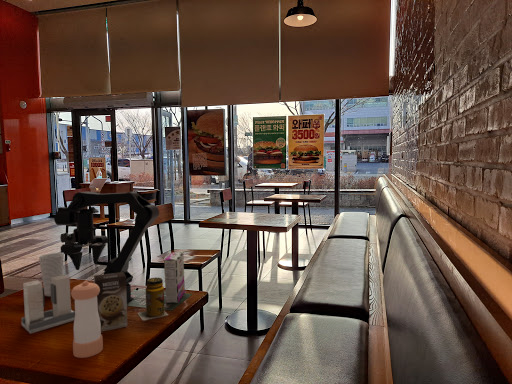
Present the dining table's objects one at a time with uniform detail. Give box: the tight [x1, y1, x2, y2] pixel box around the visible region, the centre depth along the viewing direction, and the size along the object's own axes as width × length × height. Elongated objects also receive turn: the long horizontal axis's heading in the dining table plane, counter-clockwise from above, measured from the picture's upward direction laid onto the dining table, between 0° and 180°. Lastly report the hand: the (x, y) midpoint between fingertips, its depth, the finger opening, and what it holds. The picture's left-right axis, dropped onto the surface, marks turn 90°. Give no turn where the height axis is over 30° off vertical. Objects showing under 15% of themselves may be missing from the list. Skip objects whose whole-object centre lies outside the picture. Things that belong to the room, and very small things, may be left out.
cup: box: [38, 252, 65, 297], centre depth 142 cm, size 8×8×16 cm
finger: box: [50, 274, 72, 317], centre depth 117 cm, size 5×4×13 cm
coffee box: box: [93, 272, 128, 332], centre depth 112 cm, size 9×6×16 cm
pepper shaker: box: [70, 280, 104, 359], centre depth 96 cm, size 7×7×19 cm
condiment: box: [137, 277, 169, 321], centre depth 120 cm, size 7×8×12 cm
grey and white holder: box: [21, 279, 75, 335], centre depth 115 cm, size 14×9×14 cm, turn 137°
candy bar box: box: [163, 251, 186, 304], centre depth 136 cm, size 11×5×16 cm, turn 179°
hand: (86, 266), depth 134 cm, fingers open, 9 cm apart
